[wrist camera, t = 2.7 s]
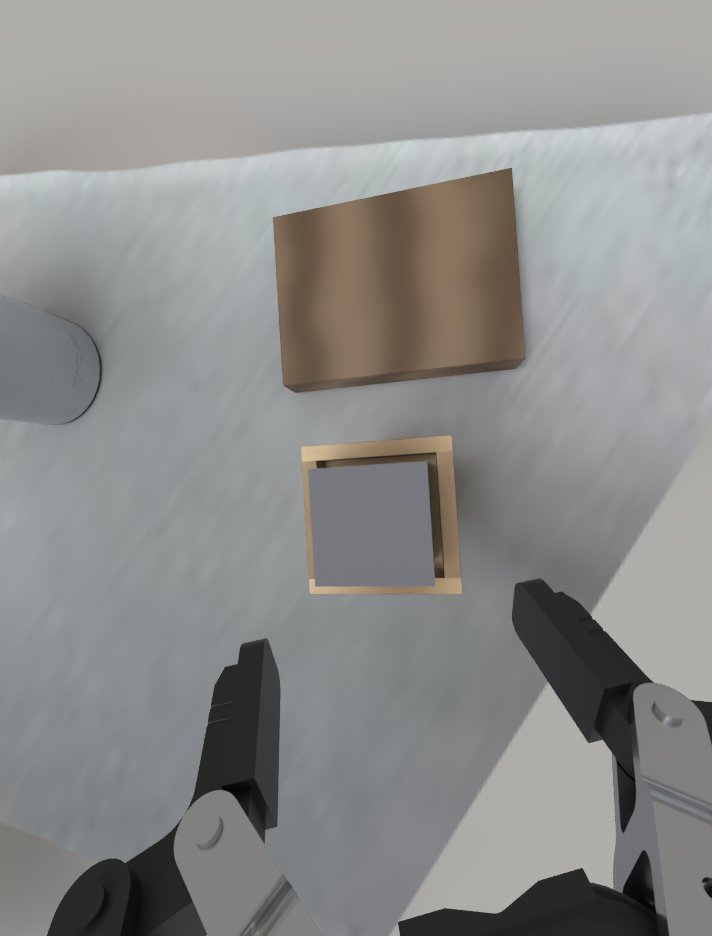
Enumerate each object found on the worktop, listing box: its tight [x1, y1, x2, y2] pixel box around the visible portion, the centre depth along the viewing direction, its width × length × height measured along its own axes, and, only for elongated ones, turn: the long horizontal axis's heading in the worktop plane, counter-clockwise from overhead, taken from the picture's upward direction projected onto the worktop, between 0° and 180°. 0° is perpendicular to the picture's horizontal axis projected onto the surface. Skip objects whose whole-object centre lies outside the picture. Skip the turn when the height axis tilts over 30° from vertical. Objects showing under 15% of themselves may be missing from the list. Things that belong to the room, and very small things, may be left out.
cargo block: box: [308, 461, 435, 587], centre depth 12 cm, size 3×3×3 cm
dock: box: [273, 168, 525, 392], centre depth 26 cm, size 16×12×2 cm
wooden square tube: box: [301, 435, 462, 594], centre depth 20 cm, size 5×5×15 cm
